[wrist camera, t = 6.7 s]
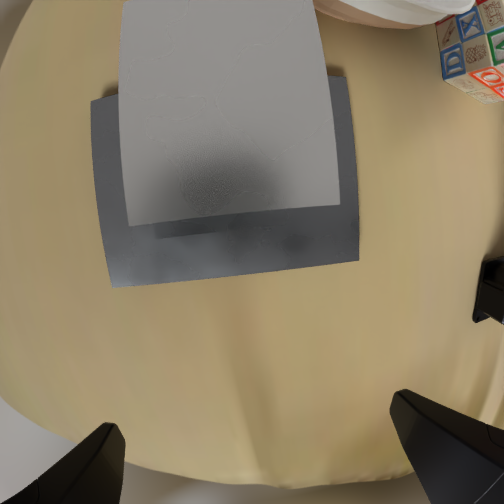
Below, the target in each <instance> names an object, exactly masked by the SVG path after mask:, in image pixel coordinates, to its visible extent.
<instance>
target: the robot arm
mask: <svg viewBox="0 0 504 504" xmlns="http://www.w3.org/2000/svg"><path fill="white" fill-rule="evenodd" d="M489 317H491V318H493V319H495V320H496V321H498V322H499V323H501V324H503V325H504V256H502V257H498V258H494V259H490V260H486V261H484V262H483V264H482V269H481V276H480V283H479V289H478V294H477V300H476V305H475V310H474V314H473V319H472V320H473V321H474V322H475V323H478V322H480V321H482V320H485V319H487V318H489ZM390 415H391V418H392V421H393V423H394V426H395V428H396V431H397V434H398V436H399V439H400V442H401V444H402V447H403V449H404V451H405V453H406V455H407V457H408V459H409V461H410V463H411V465H412V467H413V468H414V470H415V472H416V474H417V476H418V478H419V480H420V482H421V484H422V486H423V488H424V490H425V492H426V494H427V496H428V498H429V500H430V502H431V504H504V430H502V429H499V428H496V427H493V426H491V425H488V424H485V423H483V422H481V421H478V420H476V419H474V418H471V417H469V416H466V415H464V414H462V413H459V412H457V411H455V410H452V409H450V408H448V407H445V406H443V405H441V404H439V403H436V402H434V401H432V400H430V399H428V398H425V397H423V396H421V395H419V394H417V393H415V392H412V391H410V390H408V389H402V390H399V391H396V392H395V393H394V395H393V399H392V402H391V406H390ZM124 458H125V439H124V437H123V435H122V433H121V431H120V430H119V428H118V426H117V425H116V424H115V423H108V422H105V423H103V424H101V425H100V426H99V427H98V428H97V429H96V430H94V431H93V432H92V433H91V434H90V435H89V436H87V437H86V438H85V439H84V440H83V441H82V442H80V443H79V444H78V445H77V446H76V447H75V448H73V449H72V450H71V451H70V452H69V453H68V454H66V455H65V456H64V457H63V458H61V459H60V460H59V461H58V462H57V463H55V464H54V465H53V466H52V467H51V468H49V469H48V470H47V471H46V472H44V473H43V474H42V475H41V476H40V477H38V479H36V480H34V481H33V482H32V483H31V484H30V485H28V486H27V487H25V488H24V489H23V490H22V491H20V492H18V493H17V494H15V495H14V496H12V497H11V498H9V499H7V500H6V501H4V502H2V503H0V504H119V502H120V495H121V490H122V484H123V473H124Z"/></svg>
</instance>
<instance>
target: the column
mask: <svg viewBox="0 0 504 504" xmlns="http://www.w3.org/2000/svg"><path fill="white" fill-rule="evenodd" d="M118 95H119V132H120V149H121V162H122V173H123V183H124V192H125V201H126V209H127V216H128V223H129V227H130V226H137V225H144V224H151V223H159V222H166V221H174V220H182V219H190V218H199V217H208V216H216V215H226V214H235V213H245V212H255V211H265V210H276V209H288V208H300V207H312V206H326V205H340V192H339V176H338V162H337V151H336V140H335V130H334V121H333V113H332V105H331V97H330V90H329V83H328V77H327V71H326V65H325V59H324V53H323V48H322V42H321V37H320V32H319V27H318V23H317V18H316V14H315V9H314V5H313V1H312V0H130V1H126V2H124V4H123V13H122V23H121V35H120V51H119V86H118Z"/></svg>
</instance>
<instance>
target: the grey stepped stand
mask: <svg viewBox="0 0 504 504" xmlns="http://www.w3.org/2000/svg"><path fill="white" fill-rule="evenodd" d="M327 77H328V83H329V90H330V97H331V105H332V113H333V121H334V130H335V140H336V151H337V162H338V176H339V192H340V205H326V206H312V207H300V208H288V209H276V210H265V211H255V212H245V213H235V214H226V215H216V216H208V217H199V218H190V219H182V220H174V221H166V222H159V223H151V224H144V225H137V226H130V227H129V223H128V216H127V209H126V201H125V192H124V183H123V173H122V162H121V149H120V132H119V95H118V94H115V95H112V96H108V97H104V98H100V99H97V100H93V101H91V142H92V159H93V171H94V182H95V191H96V200H97V208H98V215H99V222H100V228H101V234H102V240H103V245H104V251H105V256H106V261H107V266H108V271H109V275H110V280H111V284H112V288H117V287H128V286H139V285H150V284H160V283H170V282H180V281H190V280H200V279H209V278H219V277H228V276H237V275H246V274H254V273H263V272H272V271H280V270H288V269H296V268H304V267H312V266H320V265H328V264H336V263H343V262H351V261H358V260H359V206H358V184H357V168H356V155H355V144H354V134H353V125H352V117H351V109H350V102H349V95H348V88H347V82H346V77H340V76H327Z"/></svg>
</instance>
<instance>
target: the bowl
mask: <svg viewBox="0 0 504 504" xmlns="http://www.w3.org/2000/svg"><path fill="white" fill-rule="evenodd" d="M312 1H313V5H314V8H315V9H316V10H318V11H320V12H322V13H324V14H327V15H330V16H332V17H334V18H337V19H341V20H344V21H348V22H353V23H359V24H363V25H368V26H374V27H379V28H396V29H412V28H418V27H422V26H425V25H428V24H433V23H435V22H437V21H439V20H441V19H442V18H444V17H445V16H447V15H448V14H463V13H465V12H467V11H469V10H470V9H471V8H472V6H473V5H474V3H475V0H312Z"/></svg>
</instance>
